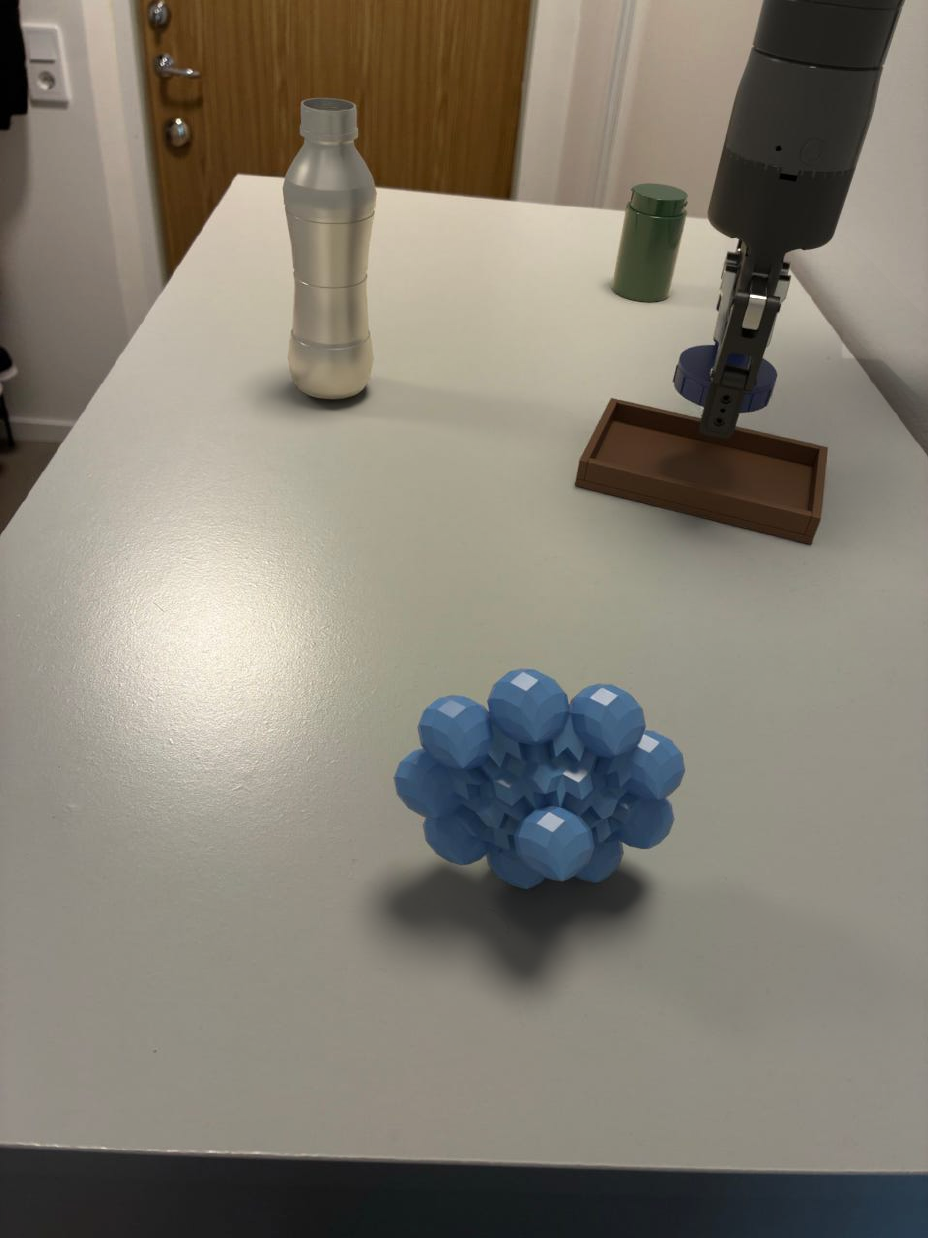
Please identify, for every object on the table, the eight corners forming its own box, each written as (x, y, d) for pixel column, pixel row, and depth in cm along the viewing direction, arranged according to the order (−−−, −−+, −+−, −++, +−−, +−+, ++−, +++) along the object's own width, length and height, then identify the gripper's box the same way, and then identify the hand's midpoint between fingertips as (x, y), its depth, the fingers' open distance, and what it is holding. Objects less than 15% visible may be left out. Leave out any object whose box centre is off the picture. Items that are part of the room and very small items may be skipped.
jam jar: (673, 286, 97) (695, 188, 91) (663, 306, 93) (686, 205, 87) (618, 275, 98) (636, 178, 92) (606, 294, 94) (623, 193, 88)
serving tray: (818, 471, 70) (828, 446, 69) (811, 544, 63) (821, 518, 61) (606, 422, 74) (610, 397, 72) (574, 485, 66) (579, 459, 65)
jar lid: (662, 396, 62) (668, 371, 61) (686, 361, 67) (692, 336, 66) (759, 422, 61) (767, 397, 60) (777, 384, 65) (785, 359, 64)
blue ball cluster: (392, 975, 37) (404, 773, 29) (387, 833, 42) (396, 629, 35) (679, 962, 39) (762, 766, 31) (640, 826, 44) (703, 629, 36)
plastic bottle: (274, 399, 72) (258, 106, 59) (311, 364, 77) (304, 87, 64) (353, 417, 71) (355, 122, 58) (385, 380, 76) (393, 101, 63)
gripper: (729, 110, 60) (670, 358, 71) (720, 167, 49) (652, 450, 60) (851, 128, 59) (772, 377, 70) (868, 190, 48) (772, 474, 59)
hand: (717, 410), depth 65 cm, fingers closed on jar lid, 6 cm apart
